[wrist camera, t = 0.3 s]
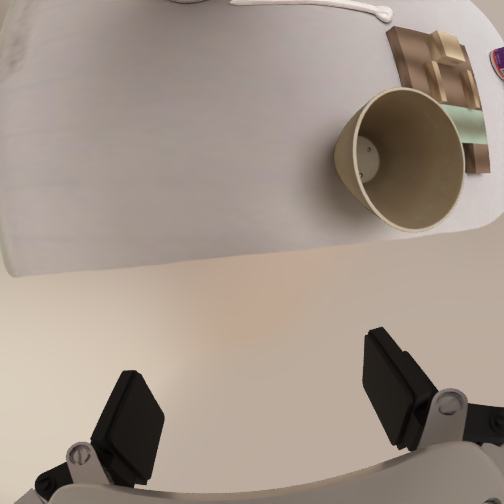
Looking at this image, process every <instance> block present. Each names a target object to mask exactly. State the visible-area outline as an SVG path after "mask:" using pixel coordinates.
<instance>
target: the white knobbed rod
mask: <svg viewBox="0 0 504 504" xmlns="http://www.w3.org/2000/svg"><path fill="white" fill-rule="evenodd" d="M230 3H231V4H234V5H240V6H241V5H260V4H268V5H276V4H294V5H295V4H316V5H327V6H334V7H342V8H348V9H354V10H359V11H364V12H369V13H373V14H375V15H376V17H377V18H378V19H380V20H382V21H383V22H387V23H389V22H392V20H393V17H394V14H393V11H392V10H391V9H390V8H388V7H386V6H377V7H376V6H373V5H369V4H365V3H360V2H355V1H349V0H232V1H230Z"/></svg>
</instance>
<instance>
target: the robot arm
mask: <svg viewBox="0 0 504 504" xmlns="http://www.w3.org/2000/svg"><path fill="white" fill-rule="evenodd" d="M171 1H174V2H180V3H192V2H199V1H204V0H171ZM362 382H363V387H364V389H365V391H366V393H367V395H368V397H369V399H370V401H371V403H372V405H373V407H374V409H375V411H376V413H377V415H378V417H379V420H380V421H381V423H382V426H383V428H384V430H385V432H386V434H387V436H388V438H389V440H390V442H391V444H392V445H393V446H394V445H397V448H398V449H399V450H401V449H403V448H406V447H407V448H408V450H409V451H411V452H410V453H407V454H404V455H402V456H399V457H396V458H393V459H391V460H388V461H385V462H382V463H380V464H377V465H374V466H371V467H368V468H365V469H361V470H358V471H355V472H352V473H348V474H345V475H341V476H337V477H333V478H330V479H326V480H322V481H317V482H312V483H307V484H302V485H297V486H291V487H285V488H278V489H271V490H262V491H252V492H239V493H209V494H206V493H204V494H202V493H201V494H200V493H175V492H162V491H153V490H144V489H135V488H134V485H135V484H140V485H147V480H149V479H150V478H151V475H152V471H153V466H154V462H155V458H156V453H157V449H158V445H159V441H160V436H161V432H162V428H163V424H164V420H165V419H164V413H163V412H162V410H161V408H160V407H159V405H158V403H157V401H156V400H155V398H154V396H153V395H152V393H151V391H150V389H149V388H148V386H147V384H146V382H145V380H144V378H143V377H142V375H141V374H140V373H138V372H137V371H135V370H128V371H123V372H122V373H121V375H120V377H119V379H118V381H117V383H116V385H115V387H114V389H113V391H112V393H111V395H110V397H109V399H108V401H107V404H106V406H105V408H104V410H103V412H102V414H101V416H100V418H99V420H98V423H97V425H96V427H95V429H94V431H93V434H92V436H91V438H90V439H91V443H90V444H89V443H87V442H78V443H75V444H74V445H72V446H71V447H70V448H69V449H68V451H67V454H66V460H67V462H65V463H63V464H61V465H59V466H57V467H55V468H53V469H51V470H49V471H46V472H44V473H42V474H41V475H39V476H38V478H37V479H36V481H35V490H33V489H30V490H29V491H28V492H27V493H26V494H24V496H22V497H21V498H20V499H19V500H17V501H16V502H15V503H14V504H504V407H493V406H485V405H478V404H470V403H468V400H467V397H466V395H465V394H464V393H463V392H461V391H459V390H457V389H453V388H449V389H444V390H441V391H438V390H437V389H436V387H435V386H434V385H433V383H432V382H431V381H430V379H429V378H428V377H427V375H426V374H425V373H424V372H423V370H422V369H421V368H420V366H419V365H418V364H417V363H416V361H415V360H414V359H413V358H412V356H411V355H410V354H409V353H408V352H407V351H402V350H401V349H400V348H399V346H398V345H397V344H396V342H395V341H394V340H393V339H392V337H391V336H390V335H389V334H388V333H387V331H386V330H385V329H384V328H383V327H379V328H376V329H372V330H370V331H369V332H368V335H365V342H364V366H363V379H362Z"/></svg>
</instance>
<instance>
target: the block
mask: <svg viewBox="0 0 504 504" xmlns="http://www.w3.org/2000/svg"><path fill="white" fill-rule="evenodd" d="M425 39H426V42H427V45H428V48H429V51H430V54H431V57H432V60H433V61H435V62H437V63H441V64H445V65H449V66H454V65H457V64H460V63H463V62H465V59H464V56H463V53H462V50H461V47H460V44H459V41H458V39H457V37H456V36H453V35H450V34H447V33H444V32H441V31H438V30H437V31H435V32H433V33H431V34H430V35H428V36H426V37H425Z"/></svg>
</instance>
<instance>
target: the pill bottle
mask: <svg viewBox="0 0 504 504" xmlns="http://www.w3.org/2000/svg"><path fill="white" fill-rule="evenodd" d="M490 58H491V62H492V65H493V67H494V69H495V71H496V73H497V74H498V75H499V76H500V77H501V78H502V79H503V80H504V47H502V48H499V49H495V50H493V51H492V52H491V54H490Z"/></svg>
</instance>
